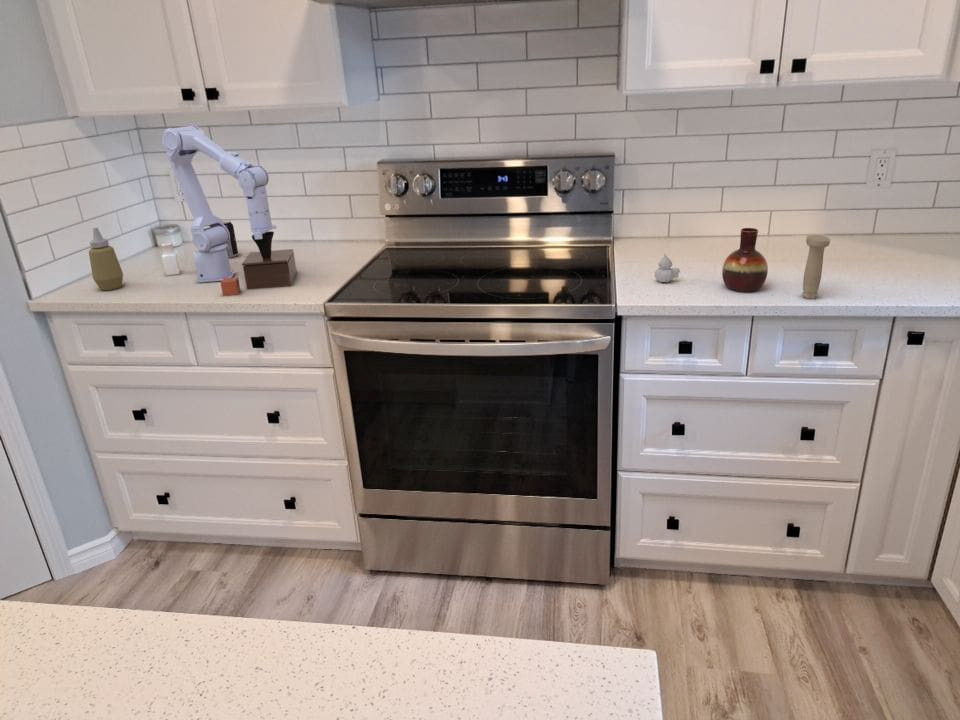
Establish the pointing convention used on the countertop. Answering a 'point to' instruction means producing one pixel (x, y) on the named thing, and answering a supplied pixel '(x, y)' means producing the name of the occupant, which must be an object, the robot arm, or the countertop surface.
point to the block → (230, 286)
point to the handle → (814, 264)
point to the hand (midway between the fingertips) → (266, 258)
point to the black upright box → (231, 239)
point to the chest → (270, 274)
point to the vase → (745, 265)
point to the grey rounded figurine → (666, 270)
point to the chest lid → (276, 257)
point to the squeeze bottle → (104, 263)
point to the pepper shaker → (170, 259)
